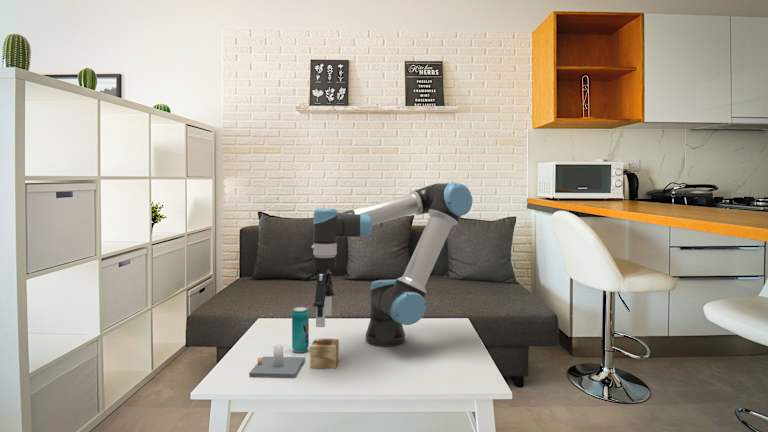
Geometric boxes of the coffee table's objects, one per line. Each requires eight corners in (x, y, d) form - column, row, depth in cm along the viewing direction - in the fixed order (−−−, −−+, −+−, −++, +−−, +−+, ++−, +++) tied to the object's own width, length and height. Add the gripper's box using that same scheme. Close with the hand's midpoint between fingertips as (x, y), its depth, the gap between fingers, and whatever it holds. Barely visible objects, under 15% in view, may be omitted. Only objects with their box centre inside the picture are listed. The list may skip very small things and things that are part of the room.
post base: (305, 360, 150) (304, 339, 150) (295, 377, 136) (295, 354, 136) (263, 360, 151) (263, 338, 151) (249, 376, 137) (249, 353, 137)
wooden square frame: (338, 359, 152) (338, 338, 152) (335, 368, 144) (335, 346, 144) (315, 358, 152) (315, 337, 152) (310, 367, 144) (310, 345, 144)
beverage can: (305, 354, 157) (305, 311, 156) (289, 352, 158) (289, 310, 157) (311, 348, 162) (310, 307, 162) (296, 347, 164) (295, 306, 163)
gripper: (320, 251, 159) (319, 310, 160) (305, 261, 134) (304, 331, 135) (341, 251, 159) (340, 311, 160) (330, 261, 134) (329, 332, 135)
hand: (324, 321), depth 147 cm, fingers open, 13 cm apart
